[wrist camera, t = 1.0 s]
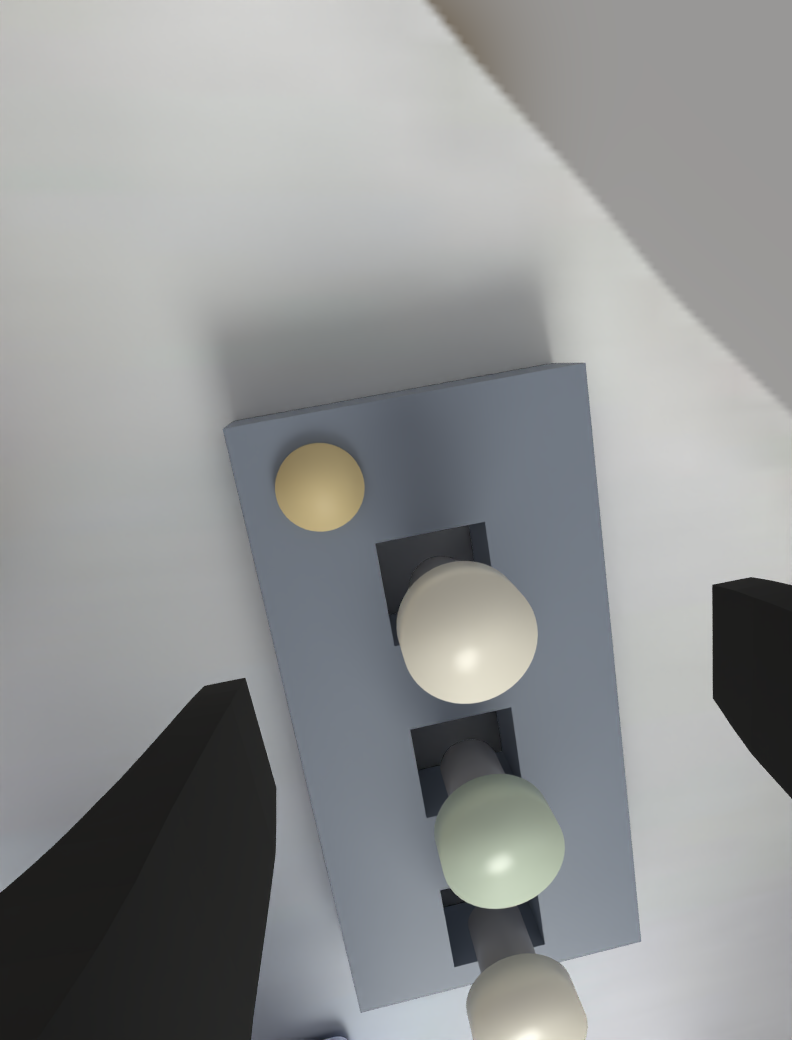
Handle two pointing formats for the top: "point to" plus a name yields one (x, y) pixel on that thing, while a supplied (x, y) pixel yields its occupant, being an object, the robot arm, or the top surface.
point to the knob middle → (494, 831)
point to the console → (390, 687)
